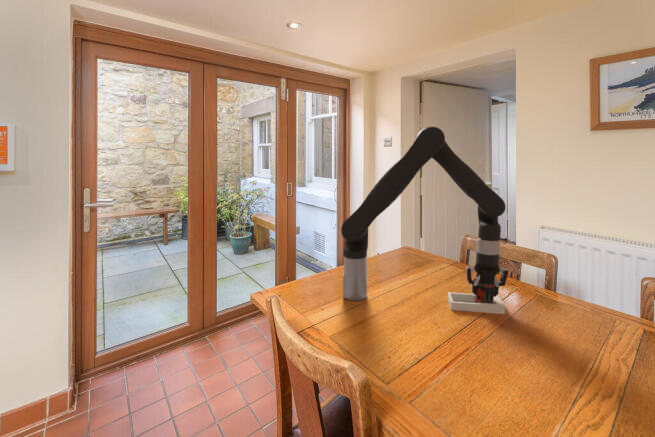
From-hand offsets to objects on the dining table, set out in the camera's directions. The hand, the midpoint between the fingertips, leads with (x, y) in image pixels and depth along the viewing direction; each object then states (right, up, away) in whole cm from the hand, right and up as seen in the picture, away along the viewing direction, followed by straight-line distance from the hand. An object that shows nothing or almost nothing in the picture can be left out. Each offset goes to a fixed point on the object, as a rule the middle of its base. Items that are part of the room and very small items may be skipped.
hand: (484, 294), depth 117 cm
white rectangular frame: (-3, -5, +2) cm, 6 cm away
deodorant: (0, -5, +1) cm, 5 cm away
